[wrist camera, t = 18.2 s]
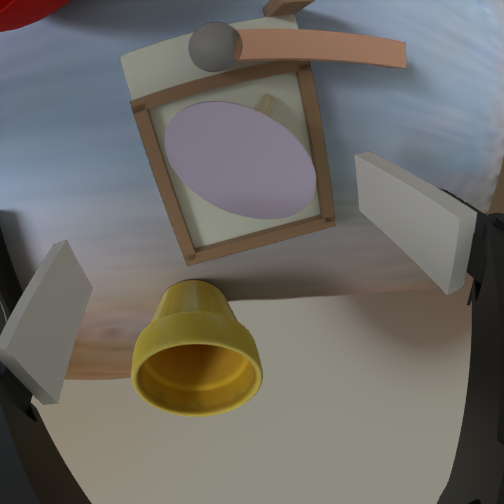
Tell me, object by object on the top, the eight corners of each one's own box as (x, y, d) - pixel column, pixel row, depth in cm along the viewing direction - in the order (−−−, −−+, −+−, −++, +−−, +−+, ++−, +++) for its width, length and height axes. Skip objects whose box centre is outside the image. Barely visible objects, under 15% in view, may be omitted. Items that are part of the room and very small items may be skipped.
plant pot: (248, 337, 34) (263, 411, 26) (155, 346, 33) (150, 421, 24) (244, 256, 29) (263, 332, 20) (132, 268, 28) (111, 345, 19)
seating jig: (188, 257, 28) (187, 295, 23) (119, 46, 18) (97, 36, 13) (328, 219, 28) (353, 248, 23) (288, 5, 18) (311, -13, 14)
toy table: (146, 151, 22) (131, 171, 17) (227, 58, 19) (235, 49, 14) (243, 224, 26) (254, 260, 21) (320, 144, 24) (351, 162, 19)
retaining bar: (191, 74, 18) (190, 73, 16) (187, 30, 16) (186, 25, 15) (391, 75, 19) (406, 76, 18) (390, 36, 18) (405, 34, 16)
